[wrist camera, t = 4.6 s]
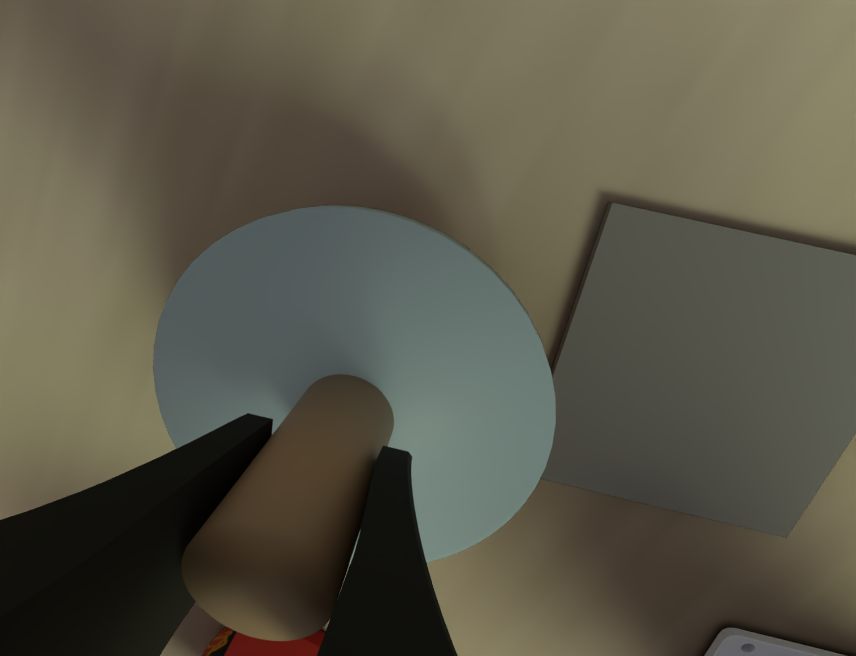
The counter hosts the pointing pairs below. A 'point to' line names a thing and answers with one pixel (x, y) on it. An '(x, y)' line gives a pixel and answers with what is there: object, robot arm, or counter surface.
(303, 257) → the lid
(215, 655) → the canned food
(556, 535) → the counter surface
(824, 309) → the mat
